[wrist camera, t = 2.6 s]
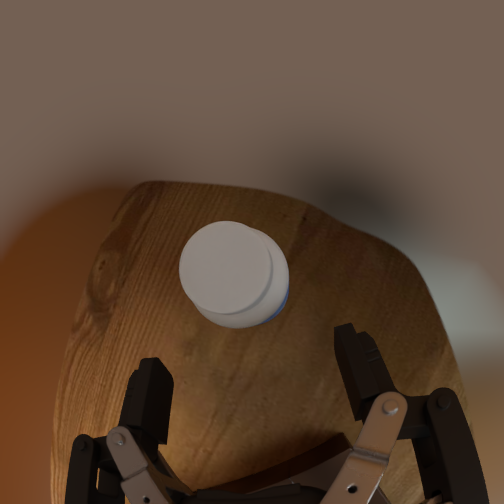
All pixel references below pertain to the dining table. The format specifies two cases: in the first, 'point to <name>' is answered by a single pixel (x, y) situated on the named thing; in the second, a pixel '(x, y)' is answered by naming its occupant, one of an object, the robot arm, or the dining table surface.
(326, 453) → the base pad
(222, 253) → the pill bottle
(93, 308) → the dining table surface
